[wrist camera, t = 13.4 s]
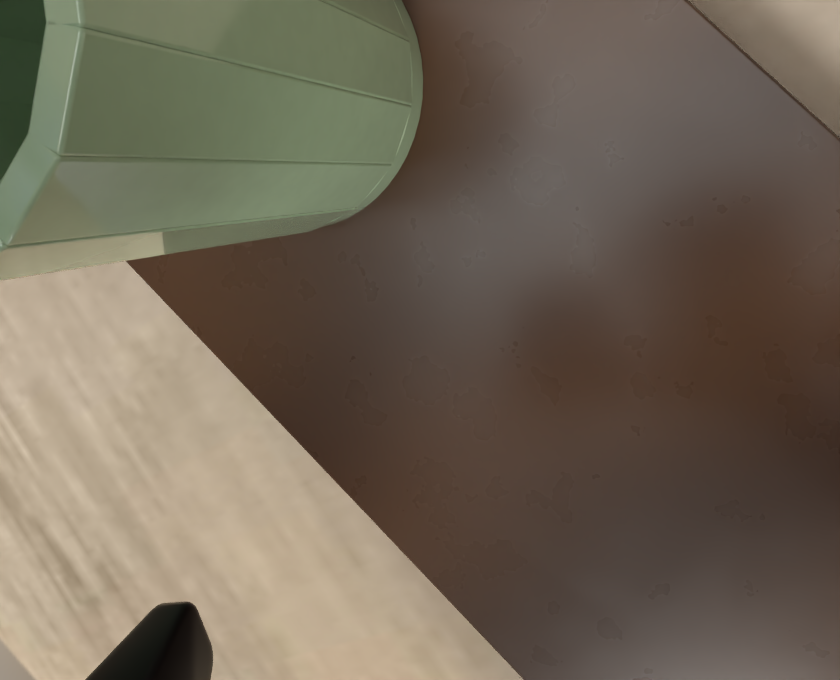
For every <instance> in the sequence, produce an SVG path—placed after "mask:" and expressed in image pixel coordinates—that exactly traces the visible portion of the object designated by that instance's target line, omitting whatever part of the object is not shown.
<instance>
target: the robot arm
mask: <svg viewBox="0 0 840 680" xmlns="http://www.w3.org/2000/svg"><path fill="white" fill-rule="evenodd" d="M212 666H213V651H212V646H211V642H210V640H209V637H208V635H207V632H206V630H205V627H204V625H203V622H202V620H201V618H200V615H199V613H198V610H197V608H196V606H195V605H194V604H192V603H191V602H174V603H163V604H160V605H158V606H156V607H155V608H154V609H152V610H151V611H150V612H149V613H148V615H147V616H146V617H145V618H144V619H143V620H142V621H141V622H140V623H139V624H138V625H137V626H136V627H135V628H134V629H133V630H132V631H131V632H130V633H129V634H128V636H127V637H126V638H125V639H124V640H123V641H122V642H121V643H120V644H119V645H118V646H117V647H116V648H115V649H114V650H113V651H112V652H111V653H110V654H109V655H108V656H107V658H106V659H105V660H104V661H103V662H102V663H101V664H100V665H99V666H98V667H97V668H96V669H95V670H94V671H93V672H92V673H91V674H90V675H89V676H88V677H87V678H86V680H210V679H211V673H212Z"/></svg>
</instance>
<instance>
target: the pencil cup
mask: <svg viewBox="0 0 840 680" xmlns="http://www.w3.org/2000/svg"><path fill="white" fill-rule="evenodd" d="M422 99H423V70H422V59H421V53H420V49H419V44H418V39H417V36H416V33H415V30H414V27H413V24H412V21H411V18H410V16H409V14H408V12H407V10H406V8H405V6H404V4H403V2H402V0H0V281H2V280H8V279H15V278H21V277H27V276H34V275H40V274H46V273H53V272H59V271H65V270H72V269H78V268H84V267H90V266H97V265H103V264H109V263H116V262H122V261H128V260H135V259H141V258H147V257H153V256H160V255H166V254H172V253H179V252H185V251H191V250H198V249H204V248H210V247H216V246H223V245H229V244H235V243H242V242H248V241H254V240H261V239H267V238H273V237H279V236H286V235H292V234H298V233H305V232H309V231H313V230H315V229H317V228H321V227H325V226H329V225H333V224H335V223H338V222H340V221H342V220H345V219H347V218H349V217H351V216H352V215H354V214H356V213H358V212H359V211H361V210H362V209H364V208H365V207H366V206H367V205H369V204H370V203H371V202H372V201H374V200H375V199H376V198H377V197H378V196H379V195H380V194H381V193H382V192H383V191H384V190H385V189H386V187H387V186H388V185H389V184H390V182H391V181H392V180H393V178H394V177H395V175H396V174H397V173H398V171H399V169H400V168H401V166H402V164H403V162H404V160H405V159H406V157H407V155H408V152H409V150H410V147H411V145H412V142H413V140H414V137H415V134H416V130H417V126H418V123H419V119H420V113H421V106H422Z"/></svg>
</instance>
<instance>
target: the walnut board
mask: <svg viewBox="0 0 840 680" xmlns="http://www.w3.org/2000/svg"><path fill="white" fill-rule="evenodd" d="M402 2H403V4H404V6H405V8H406V10H407V12H408V14H409V16H410V18H411V21H412V24H413V27H414V30H415V33H416V36H417V39H418V44H419V49H420V53H421V59H422V70H423V99H422V106H421V113H420V119H419V123H418V126H417V130H416V134H415V137H414V140H413V142H412V145H411V147H410V150H409V152H408V155H407V157H406V159H405V160H404V162H403V164H402V166H401V168H400V169H399V171H398V173H397V174H396V175H395V177H394V178H393V180H392V181H391V182H390V184H389V185H388V186H387V187H386V189H385V190H384V191H383V192H382V193H381V194H380V195H379V196H378V197H377V198H376V199H375V200H374V201H372V202H371V203H370V204H369V205H367V206H366V207H365V208H364V209H362V210H361V211H359V212H358V213H356V214H354V215H352V216H351V217H349V218H347V219H345V220H342V221H340V222H338V223H335V224H333V225H329V226H325V227H321V228H317V229H315V230H313V231H309V232H305V233H298V234H292V235H286V236H279V237H273V238H267V239H261V240H254V241H248V242H242V243H235V244H229V245H223V246H216V247H210V248H204V249H198V250H191V251H185V252H179V253H172V254H166V255H160V256H153V257H147V258H141V259H135V260H128V261H126V262H127V263H128V264H129V265H130V266H131V267H132V268H133V269H134V270H135V271H136V272H137V273H138V274H139V275H140V276H141V277H142V278H143V279H144V281H145V282H146V283H147V284H148V285H149V286H150V287H151V288H152V289H153V290H154V291H155V292H156V293H157V294H158V295H159V296H160V297H161V298H162V299H163V301H164V302H165V303H166V304H167V305H168V306H169V307H170V308H171V309H172V310H173V311H174V312H175V313H176V314H177V315H178V316H179V317H180V318H181V319H182V321H183V322H184V323H185V324H186V325H187V326H188V327H189V328H190V329H191V330H192V331H193V332H194V333H195V334H196V335H197V336H198V337H199V338H200V339H201V340H202V342H203V343H204V344H205V345H206V346H207V347H208V348H209V349H210V350H211V351H212V352H213V353H214V354H215V355H216V356H217V357H218V358H219V359H220V360H221V362H222V363H223V364H224V365H225V366H226V367H227V368H228V369H229V370H230V371H231V372H232V373H233V374H234V375H235V376H236V377H237V378H238V379H239V380H240V382H241V383H242V384H243V385H244V386H245V387H246V388H247V389H248V390H249V391H250V392H251V393H252V394H253V395H254V396H255V397H256V398H257V399H258V400H259V401H260V403H261V404H262V405H263V406H264V407H265V408H266V409H267V410H268V411H269V412H270V413H271V414H272V415H273V416H274V417H275V418H276V419H277V420H278V421H279V423H280V424H281V425H282V426H283V427H284V428H285V429H286V430H287V431H288V432H289V433H290V434H291V435H292V436H293V437H294V438H295V439H296V440H297V441H298V442H299V444H300V445H301V446H302V447H303V448H304V449H305V450H306V451H307V452H308V453H309V454H310V455H311V456H312V457H313V458H314V459H315V460H316V461H317V462H318V464H319V465H320V466H321V467H322V468H323V469H324V470H325V471H326V472H327V473H328V474H329V475H330V476H331V477H332V478H333V479H334V480H335V481H336V482H337V484H338V485H339V486H340V487H341V488H342V489H343V490H344V491H345V492H346V493H347V494H348V495H349V496H350V497H351V498H352V499H353V500H354V501H355V502H356V503H357V505H358V506H359V507H360V508H361V509H362V510H363V511H364V512H365V513H366V514H367V515H368V516H369V517H370V518H371V519H372V520H373V521H374V522H375V523H376V525H377V526H378V527H379V528H380V529H381V530H382V531H383V532H384V533H385V534H386V535H387V536H388V537H389V538H390V539H391V540H392V541H393V542H394V543H395V544H396V546H397V547H398V548H399V549H400V550H401V551H402V552H403V553H404V554H405V555H406V556H407V557H408V558H409V559H410V560H411V561H412V562H413V563H414V564H415V566H416V567H417V568H418V569H419V570H420V571H421V572H422V573H423V574H424V575H425V576H426V577H427V578H428V579H429V580H430V581H431V582H432V583H433V584H434V586H435V587H436V588H437V589H438V590H439V591H440V592H441V593H442V594H443V595H444V596H445V597H446V598H447V599H448V600H449V601H450V602H451V603H452V604H453V605H454V607H455V608H456V609H457V610H458V611H459V612H460V613H461V614H462V615H463V616H464V617H465V618H466V619H467V620H468V621H469V622H470V623H471V624H472V625H473V627H474V628H475V629H476V630H477V631H478V632H479V633H480V634H481V635H482V636H483V637H484V638H485V639H486V640H487V641H488V642H489V643H490V644H491V645H492V646H493V648H494V649H495V650H496V651H497V652H498V653H499V654H500V655H501V656H502V657H503V658H504V659H505V660H506V661H507V662H508V663H509V664H510V665H511V666H512V668H513V669H514V670H515V671H516V672H517V673H518V674H519V675H520V676H521V677H522V678H523V679H524V680H840V138H839V137H838V136H837V135H836V134H835V133H834V132H832V131H831V130H830V129H829V128H828V127H827V126H826V125H825V124H824V123H822V122H821V121H820V120H819V119H818V118H817V117H816V116H815V115H814V114H813V113H811V112H810V111H809V110H808V109H807V108H806V107H805V106H804V105H803V104H802V103H800V102H799V101H798V100H797V99H796V98H795V97H794V96H793V95H792V94H790V93H789V92H788V91H787V90H786V89H785V88H784V87H783V86H782V85H781V84H779V83H778V82H777V81H776V80H775V79H774V78H773V77H772V76H771V75H770V74H768V73H767V72H766V71H765V70H764V69H763V68H762V67H761V66H760V65H758V64H757V63H756V62H755V61H754V60H753V59H752V58H751V57H750V56H749V55H747V54H746V53H745V52H744V51H743V50H742V49H741V48H740V47H739V46H738V45H736V44H735V43H734V42H733V41H732V40H731V39H730V38H729V37H728V36H727V35H725V34H724V33H723V32H722V31H721V30H720V29H719V28H718V27H717V26H715V25H714V24H713V23H712V22H711V21H710V20H709V19H708V18H707V17H706V16H704V15H703V14H702V13H701V12H700V11H699V10H698V9H697V8H696V7H695V6H693V5H692V4H691V3H690V2H689V1H688V0H402Z"/></svg>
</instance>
